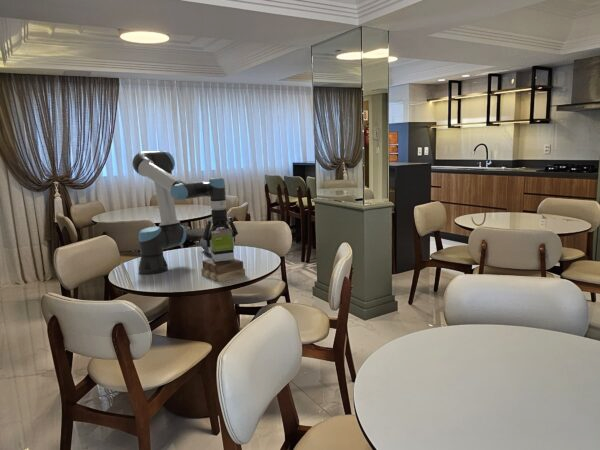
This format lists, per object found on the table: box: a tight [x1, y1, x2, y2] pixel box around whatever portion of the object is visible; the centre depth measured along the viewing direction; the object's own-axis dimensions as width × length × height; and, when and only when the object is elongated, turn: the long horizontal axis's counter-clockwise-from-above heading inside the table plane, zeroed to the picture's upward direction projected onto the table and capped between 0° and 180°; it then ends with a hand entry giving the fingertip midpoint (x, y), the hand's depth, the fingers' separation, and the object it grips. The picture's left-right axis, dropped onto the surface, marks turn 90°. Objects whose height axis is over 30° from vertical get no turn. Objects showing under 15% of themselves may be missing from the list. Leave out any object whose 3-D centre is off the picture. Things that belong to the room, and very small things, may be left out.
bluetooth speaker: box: [199, 236, 212, 256], centre depth 271 cm, size 23×9×10 cm, turn 25°
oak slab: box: [200, 267, 246, 283], centre depth 222 cm, size 18×15×4 cm
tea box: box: [209, 227, 235, 262], centre depth 220 cm, size 15×10×15 cm
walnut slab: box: [201, 258, 244, 274], centre depth 222 cm, size 17×14×4 cm
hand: (221, 251), depth 221 cm, fingers closed on tea box, 12 cm apart
